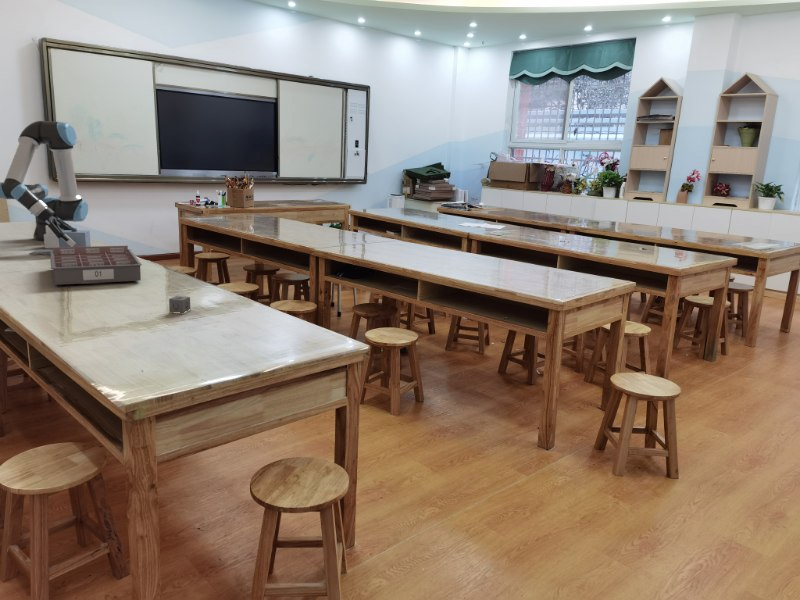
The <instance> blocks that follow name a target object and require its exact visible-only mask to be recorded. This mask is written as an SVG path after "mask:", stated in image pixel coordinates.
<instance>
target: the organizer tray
mask: <svg viewBox="0 0 800 600" xmlns="http://www.w3.org/2000/svg"><path fill="white" fill-rule="evenodd" d="M52 250H53V251H51V252H50V255H49V256H50V257H49V258H50V269H51V270H53V281H54V282H53V283H54V286H55V285H75V284H78V285H79V284H93V283H94V284H97V283H98V284H99V283H115V282H116V283H118V282H132V281H133V282H135V281H138V282H139V281H141V280H142V279H141V278H142V277H141V275H142V274H141V266H143V264H142V263H141V262H140V260H139V259H138V258H137V257H136V255H135V254H134V252H133V251H132V250H131V249H129V247H128V245H104V246H103V245H102V246H101V245H99V246H92V245H91V247H53V248H52Z"/></svg>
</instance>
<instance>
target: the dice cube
mask: <svg viewBox="0 0 800 600" xmlns="http://www.w3.org/2000/svg"><path fill="white" fill-rule="evenodd" d="M168 303H169V304H168V307H169V311H168V312H169V313H170V312H180V313H184V312H185V311H188V310H189V309H190V310H191V296H185V295H184V296H183V295H175V296H173V297H170V298H169V299H168Z"/></svg>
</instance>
